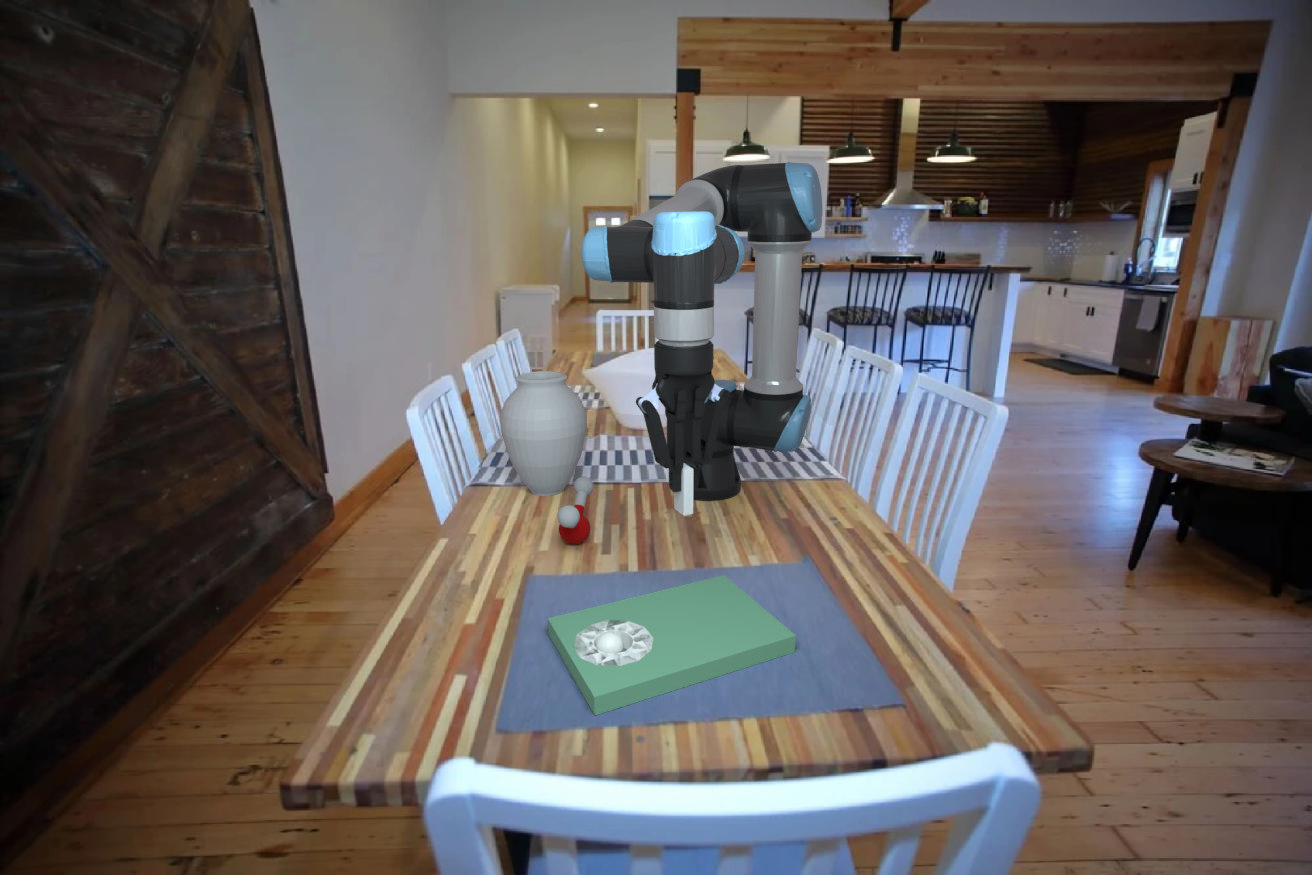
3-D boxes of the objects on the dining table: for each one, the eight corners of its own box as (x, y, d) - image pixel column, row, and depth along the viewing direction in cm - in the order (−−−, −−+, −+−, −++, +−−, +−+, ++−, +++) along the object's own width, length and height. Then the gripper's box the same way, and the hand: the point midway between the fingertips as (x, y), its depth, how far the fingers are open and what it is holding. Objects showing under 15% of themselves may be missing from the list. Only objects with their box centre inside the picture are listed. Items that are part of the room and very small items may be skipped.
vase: (489, 488, 145) (480, 375, 137) (558, 470, 156) (553, 364, 149) (534, 513, 132) (527, 389, 125) (605, 490, 143) (602, 376, 136)
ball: (589, 647, 88) (608, 667, 87) (589, 645, 84) (609, 666, 84) (609, 627, 89) (628, 647, 88) (610, 624, 85) (629, 645, 85)
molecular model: (581, 566, 111) (579, 510, 108) (548, 565, 111) (545, 509, 108) (598, 523, 127) (597, 473, 124) (569, 522, 128) (567, 472, 125)
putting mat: (723, 589, 104) (724, 574, 103) (794, 652, 88) (796, 635, 87) (548, 634, 92) (547, 618, 91) (594, 715, 76) (594, 697, 76)
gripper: (713, 331, 90) (710, 492, 98) (624, 340, 85) (629, 510, 92) (743, 340, 84) (738, 511, 91) (650, 350, 79) (652, 531, 86)
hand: (683, 510), depth 92 cm, fingers closed
